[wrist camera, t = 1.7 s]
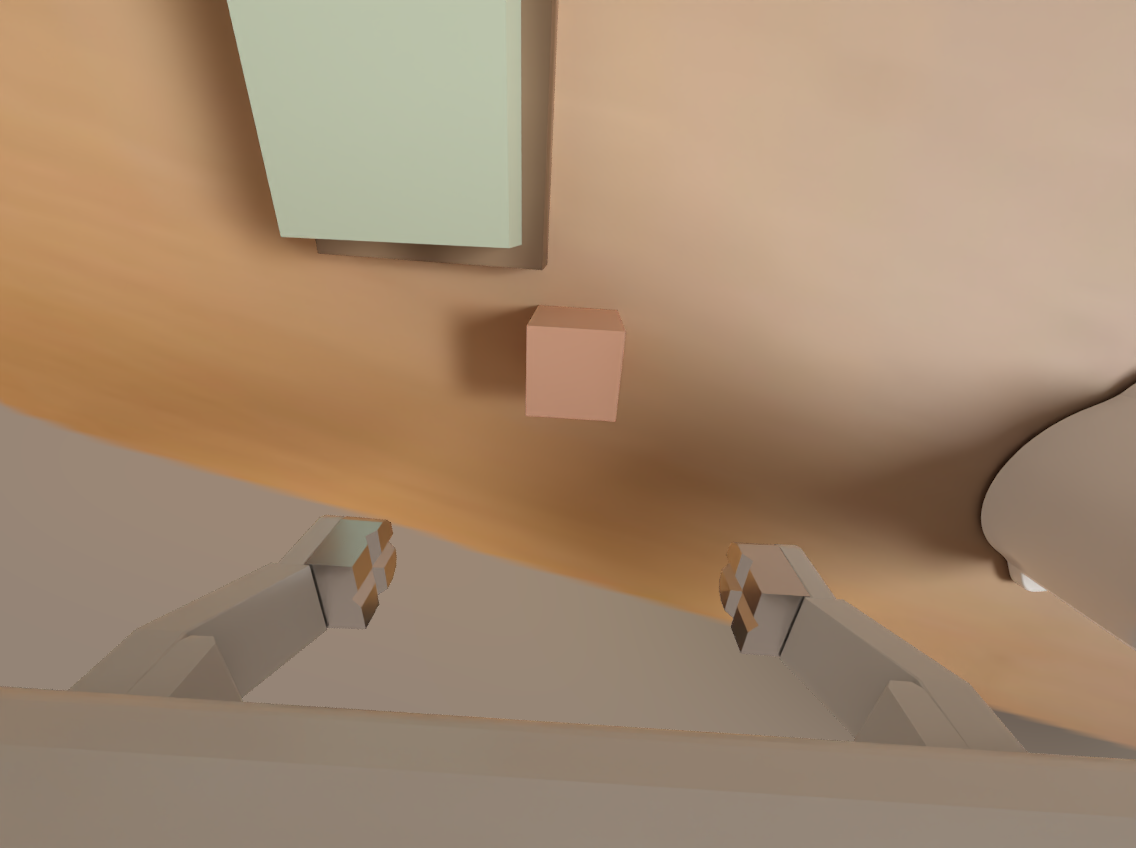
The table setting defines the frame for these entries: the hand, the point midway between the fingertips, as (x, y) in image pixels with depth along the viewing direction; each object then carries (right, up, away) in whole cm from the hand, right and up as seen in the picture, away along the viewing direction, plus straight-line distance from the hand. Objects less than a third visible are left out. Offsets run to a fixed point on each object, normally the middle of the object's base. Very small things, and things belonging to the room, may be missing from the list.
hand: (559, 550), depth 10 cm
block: (+1, +8, +17) cm, 19 cm away
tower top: (-7, +19, +9) cm, 22 cm away
